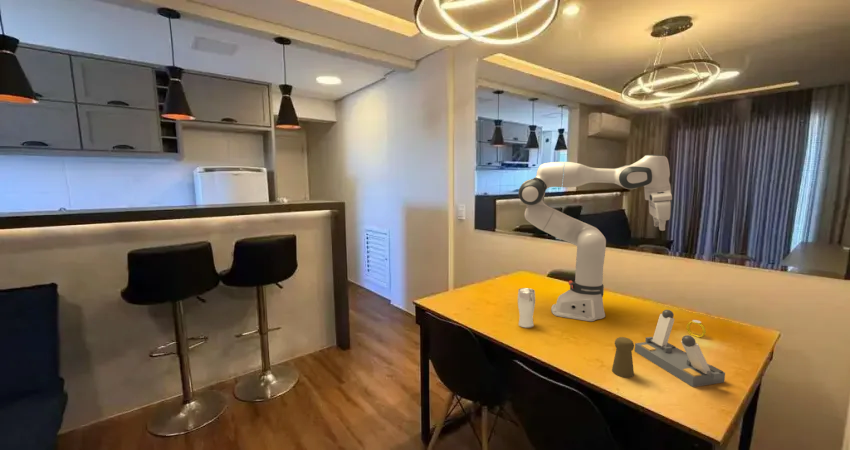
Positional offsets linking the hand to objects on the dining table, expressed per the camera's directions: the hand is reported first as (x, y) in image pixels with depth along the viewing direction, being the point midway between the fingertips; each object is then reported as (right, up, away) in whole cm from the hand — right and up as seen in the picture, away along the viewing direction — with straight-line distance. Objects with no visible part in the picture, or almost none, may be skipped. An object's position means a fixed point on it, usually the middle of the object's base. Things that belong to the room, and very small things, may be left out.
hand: (659, 228), depth 144 cm
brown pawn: (-34, -45, -33) cm, 65 cm away
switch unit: (-15, -44, -30) cm, 55 cm away
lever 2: (-13, -42, -39) cm, 59 cm away
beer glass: (-53, -41, +4) cm, 67 cm away
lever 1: (-16, -40, -24) cm, 49 cm away
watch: (+8, -41, -9) cm, 43 cm away
